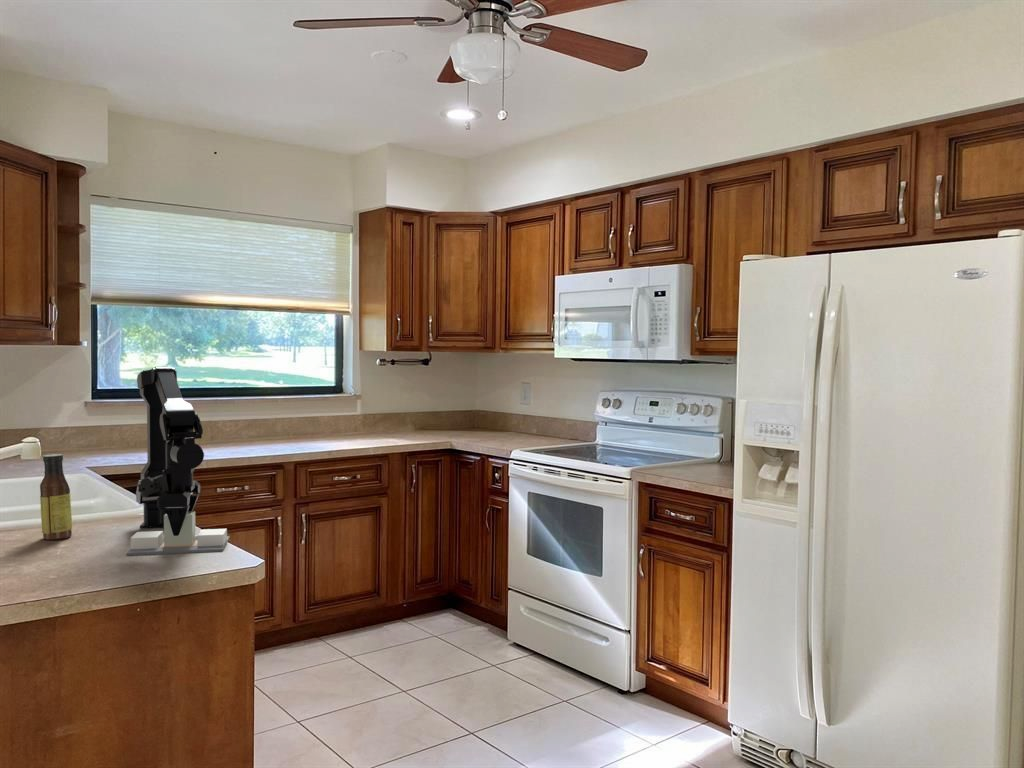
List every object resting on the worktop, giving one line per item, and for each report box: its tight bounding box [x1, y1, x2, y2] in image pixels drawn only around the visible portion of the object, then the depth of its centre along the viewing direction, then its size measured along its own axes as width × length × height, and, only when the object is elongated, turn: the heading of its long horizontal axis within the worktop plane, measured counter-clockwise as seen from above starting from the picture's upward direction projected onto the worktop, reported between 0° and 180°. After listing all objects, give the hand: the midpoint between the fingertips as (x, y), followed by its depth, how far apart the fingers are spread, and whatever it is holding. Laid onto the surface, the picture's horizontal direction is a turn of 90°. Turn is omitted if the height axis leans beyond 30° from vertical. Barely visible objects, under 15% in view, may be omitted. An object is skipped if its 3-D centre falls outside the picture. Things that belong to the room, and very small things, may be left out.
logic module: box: [163, 510, 196, 546], centre depth 181 cm, size 4×6×7 cm, turn 103°
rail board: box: [125, 528, 230, 556], centre depth 181 cm, size 12×20×3 cm, turn 103°
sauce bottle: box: [39, 453, 73, 541], centre depth 188 cm, size 7×6×20 cm
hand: (180, 530), depth 181 cm, fingers open, 9 cm apart
